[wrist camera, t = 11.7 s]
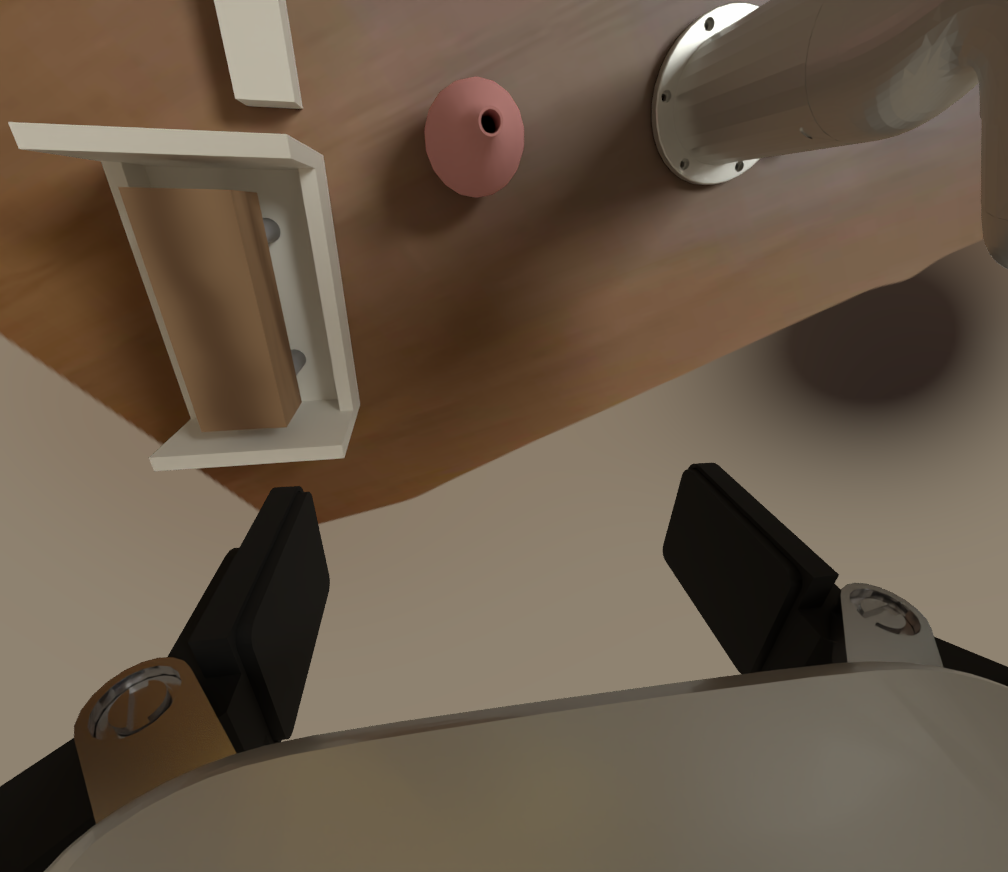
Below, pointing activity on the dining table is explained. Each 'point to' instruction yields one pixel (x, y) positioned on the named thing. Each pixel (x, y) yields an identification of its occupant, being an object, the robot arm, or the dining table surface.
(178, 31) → the dining table surface
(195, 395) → the brown wooden block
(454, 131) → the pink vase
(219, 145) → the stand
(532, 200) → the dining table surface
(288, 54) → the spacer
